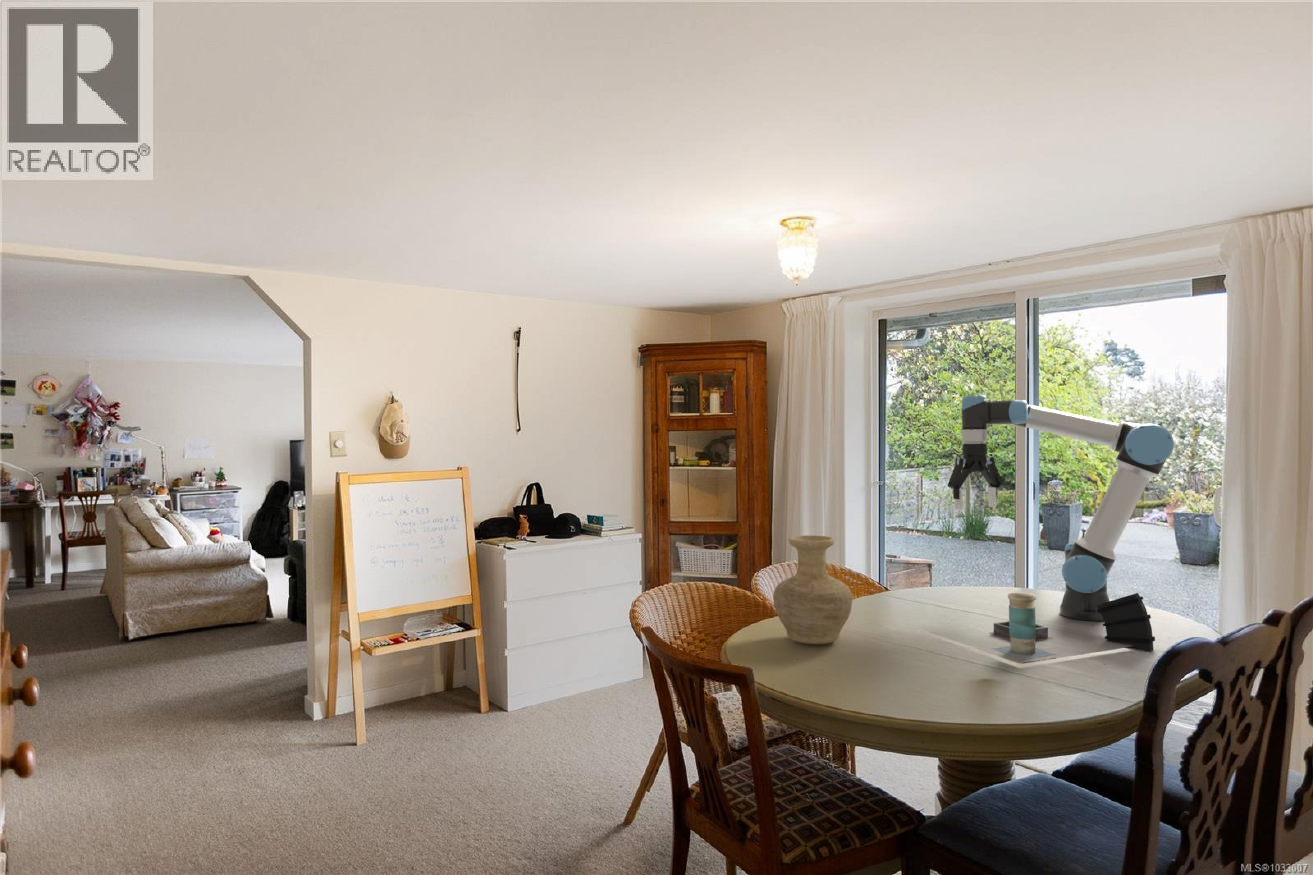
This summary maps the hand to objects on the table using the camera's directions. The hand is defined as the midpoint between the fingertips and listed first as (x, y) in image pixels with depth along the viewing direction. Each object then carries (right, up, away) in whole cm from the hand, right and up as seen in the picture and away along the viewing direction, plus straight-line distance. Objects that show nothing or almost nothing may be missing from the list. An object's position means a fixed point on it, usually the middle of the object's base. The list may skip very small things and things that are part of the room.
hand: (975, 508), depth 254 cm
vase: (-58, -36, -27) cm, 74 cm away
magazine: (+25, -35, -39) cm, 58 cm away
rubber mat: (-6, -35, -45) cm, 58 cm away
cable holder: (+1, -35, -29) cm, 46 cm away
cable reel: (-6, -34, -45) cm, 57 cm away
